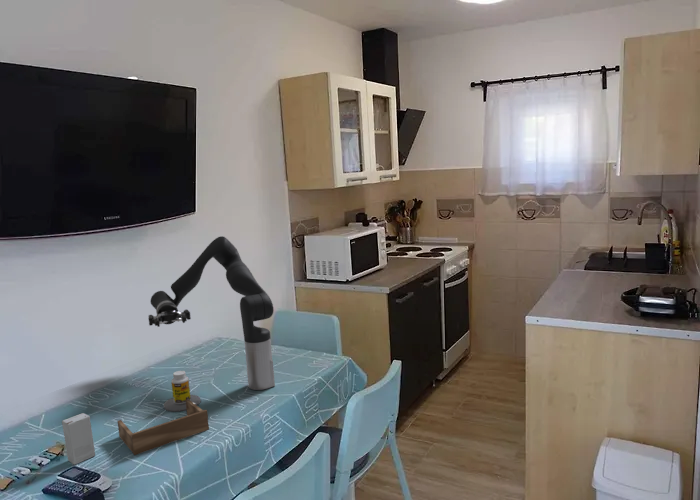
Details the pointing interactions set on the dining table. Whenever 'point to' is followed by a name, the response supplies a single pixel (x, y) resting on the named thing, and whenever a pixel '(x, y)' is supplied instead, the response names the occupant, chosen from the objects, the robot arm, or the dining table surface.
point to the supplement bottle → (180, 387)
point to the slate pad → (173, 407)
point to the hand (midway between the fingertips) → (171, 321)
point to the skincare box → (78, 438)
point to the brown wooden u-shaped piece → (165, 430)
